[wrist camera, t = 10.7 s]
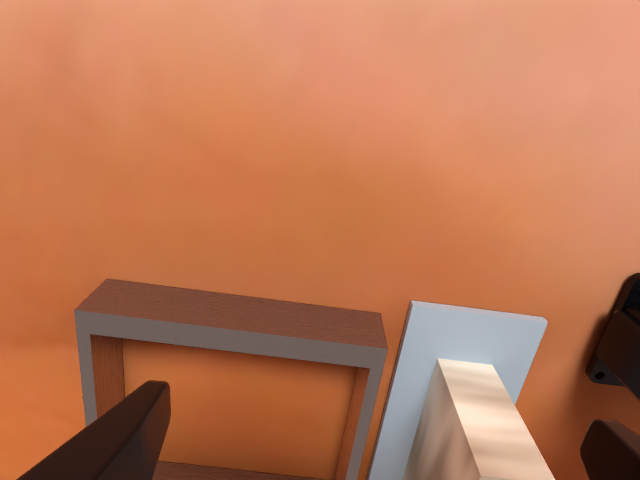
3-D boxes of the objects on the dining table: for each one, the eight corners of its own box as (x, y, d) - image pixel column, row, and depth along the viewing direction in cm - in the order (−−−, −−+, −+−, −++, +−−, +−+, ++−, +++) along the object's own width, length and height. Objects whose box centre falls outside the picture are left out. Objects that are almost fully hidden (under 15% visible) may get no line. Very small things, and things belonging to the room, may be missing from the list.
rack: (380, 313, 22) (388, 348, 19) (326, 559, 30) (326, 609, 27) (106, 278, 22) (74, 310, 19) (123, 537, 30) (102, 586, 27)
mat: (543, 317, 22) (548, 322, 22) (463, 521, 28) (465, 528, 28) (410, 300, 22) (412, 305, 21) (358, 509, 28) (359, 517, 28)
